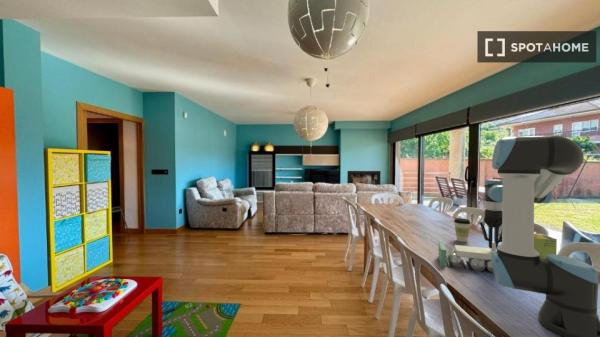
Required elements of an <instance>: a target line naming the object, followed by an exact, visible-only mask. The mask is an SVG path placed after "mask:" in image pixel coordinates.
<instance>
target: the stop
mask: <svg viewBox="0 0 600 337" xmlns="http://www.w3.org/2000/svg"><path fill="white" fill-rule="evenodd" d="M446 256H447V248H446V245H445V242H444V241H438V260H439V263H440V264H439V265H440V266H441V267H443V268H445V267H447V262H446Z"/></svg>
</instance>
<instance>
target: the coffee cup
mask: <svg viewBox="0 0 600 337" xmlns="http://www.w3.org/2000/svg"><path fill="white" fill-rule="evenodd" d="M453 222H454V230H455V236H456V241H457V242H460V243H468V238H469V234H470V228H471V224H472V223H471V221H470V219H467V218H460V217H458V218H457V217H456V218H454V220H453Z"/></svg>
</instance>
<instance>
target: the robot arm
mask: <svg viewBox="0 0 600 337" xmlns="http://www.w3.org/2000/svg"><path fill="white" fill-rule="evenodd" d="M584 158H585V156H584V152H583V149H582V148H581V147H580V145H579V144H577V142H575V141H574V140H572V139H570V138H568V137H566V136H562V135H561V136H560V135H556V134H555V135H553V134H552V135H551V134H550V135H533V136H532V135H531V136H529V135H528V136H527V135H526V136H510V137H508V136H507V137H503V138H502V137H501V138H500V139H498V140H497V142H496V144H495V145H494V149H493V153H492V160H491V163H492V164H491V166H492V169H493V170H497V175H498V176H499V177H501V179H485V181H484V185H483V186H484V217H483V219H482V220H479V221H478V222H477V223H478V225H479V226H480V229H481V231H482V235H483V236H482V237H483V238H484V240H485V241H486V242H488V248H489V249H490V250H491V251H492V253H491V260H492V267H493V271H494V274H493V275H494V278H495V280H496V282H497V283H498V285H500V286H502V287H506V288H511V289H513V290H518V291H519V290H520V291H526V292H532V293H536V294H543V295H545V300H544V301H543V303H542V305H541V307H540V309H539V310H538V322H539V323H540V324H541V325H542V326H543V327H544V328H545V329H547V330H549V331H551V332H552V333H554V334H556V335H558V336H561V337H600V317H599V315H598V300H599V299H598V296H599V295H598V294H599V284H600V281H599V274H598V270H597V269H596V268H595V267H594V266H592V265H590V264H589V263H587V262H584V261H582V260H579V259H575V258H573V257H569V256H566V255H562V254H561V255H560V254H557V253H556V254H548V255H547V256H546V259H543V258H540V254H539V253H538V252H537V251H536V250H535V249H534V234H535V204H549V203H550V202H551V201H552V198H553V192H552V191H553V189H554V188H556V187H557V186H558V184H560V182H562V180H563V179H564V178H565V177H567V176H568V175H572V174H574V173H575V172H577V171H578V170H579V168H580V167H581V166H582V164H583V163H584ZM485 224H486V225H487V228H488V232H487V231H486V227H485ZM501 226H502V227H501ZM500 227H501V230H500ZM493 230H494V232H493ZM499 230H500V232H499ZM487 233H488V234H487ZM493 233H494V235H493ZM493 237H494V238H493ZM493 239H494V241H493ZM499 243H500V244H499Z"/></svg>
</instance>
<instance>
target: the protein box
mask: <svg viewBox="0 0 600 337" xmlns="http://www.w3.org/2000/svg"><path fill="white" fill-rule="evenodd" d="M557 245H558V244H557V239H556V238H554V237H551V236H549V235H546V234H544V233H534V249H535V250H536V251H537V252H538V253H539V254H540V258H543V259H546V256H547V255H548V254H556V255H557Z"/></svg>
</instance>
